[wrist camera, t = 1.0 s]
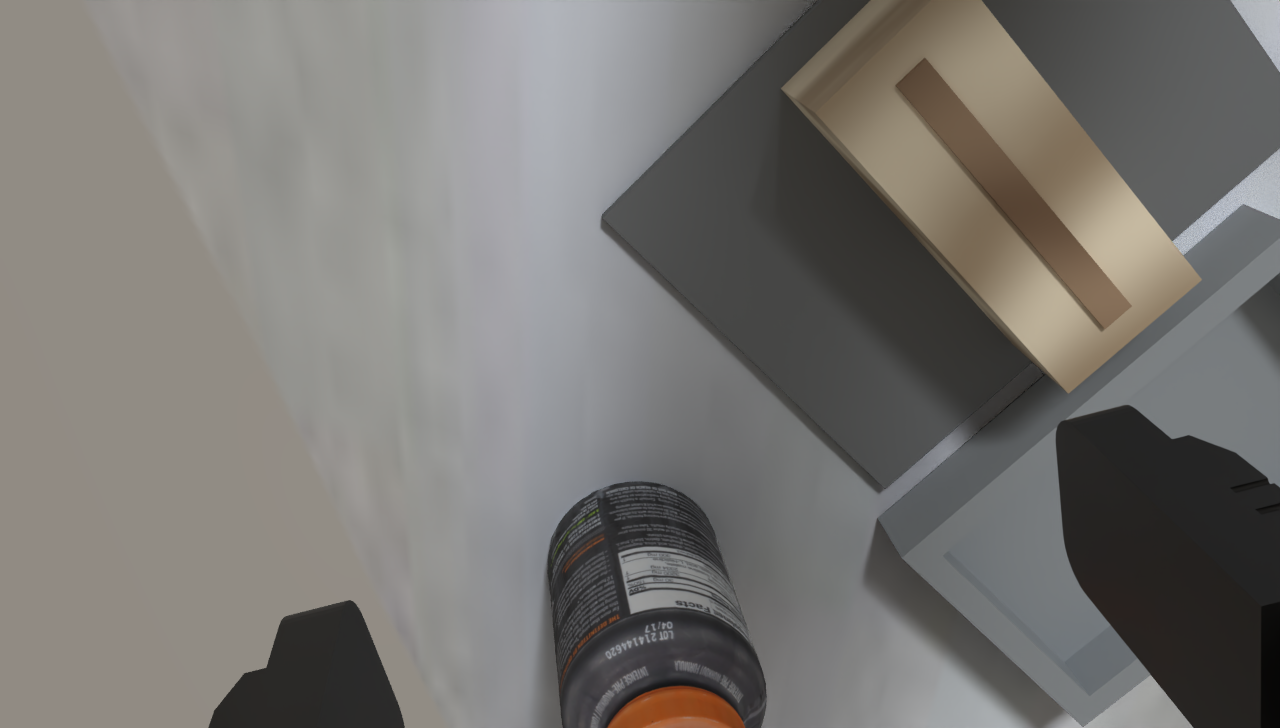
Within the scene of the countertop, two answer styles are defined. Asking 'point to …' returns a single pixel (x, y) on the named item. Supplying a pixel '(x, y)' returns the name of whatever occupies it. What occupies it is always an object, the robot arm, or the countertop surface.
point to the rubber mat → (885, 248)
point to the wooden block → (994, 179)
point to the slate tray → (1028, 473)
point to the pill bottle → (648, 617)
